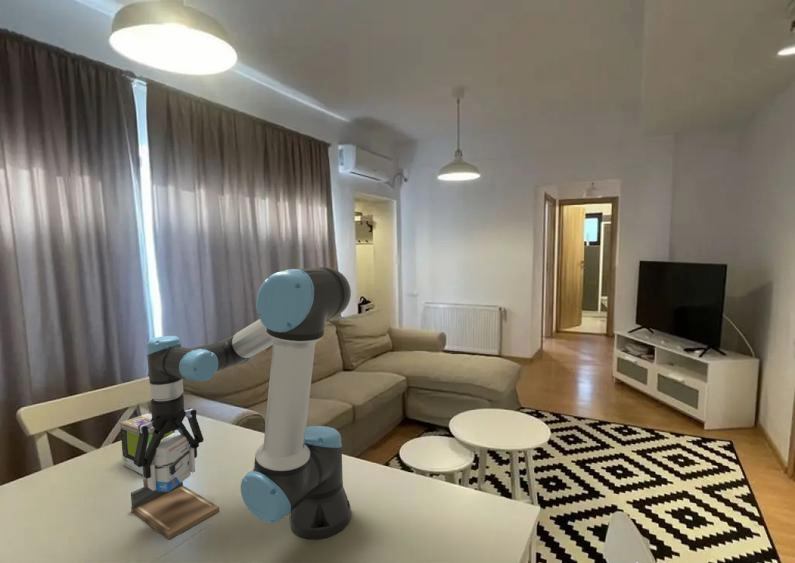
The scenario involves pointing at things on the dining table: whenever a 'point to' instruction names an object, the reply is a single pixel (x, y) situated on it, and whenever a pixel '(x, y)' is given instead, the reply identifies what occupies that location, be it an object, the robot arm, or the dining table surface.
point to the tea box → (134, 439)
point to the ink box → (171, 462)
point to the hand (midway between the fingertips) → (172, 479)
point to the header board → (171, 508)
